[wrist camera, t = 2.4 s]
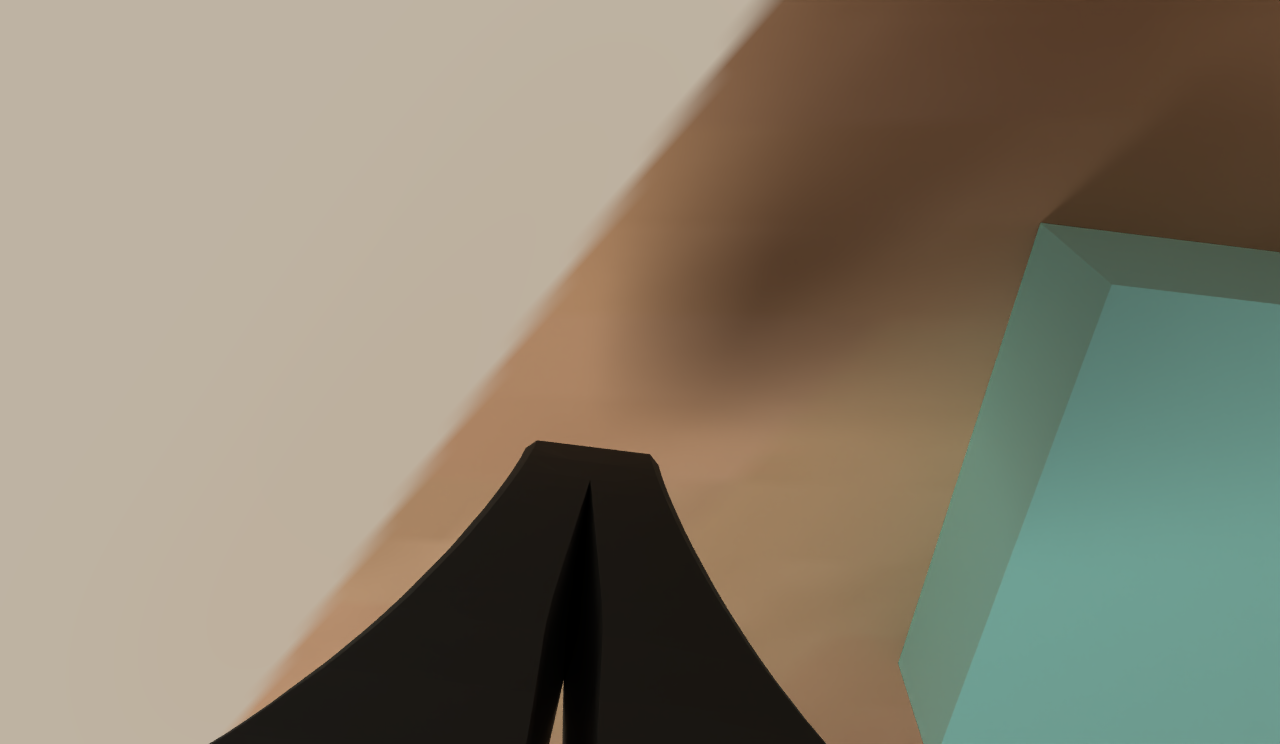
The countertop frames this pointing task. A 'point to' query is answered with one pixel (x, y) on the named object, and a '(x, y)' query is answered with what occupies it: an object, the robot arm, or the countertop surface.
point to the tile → (1115, 509)
